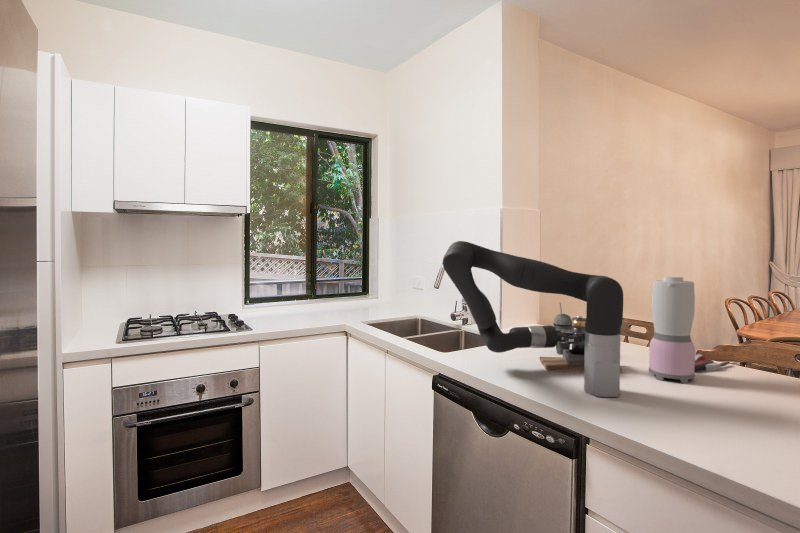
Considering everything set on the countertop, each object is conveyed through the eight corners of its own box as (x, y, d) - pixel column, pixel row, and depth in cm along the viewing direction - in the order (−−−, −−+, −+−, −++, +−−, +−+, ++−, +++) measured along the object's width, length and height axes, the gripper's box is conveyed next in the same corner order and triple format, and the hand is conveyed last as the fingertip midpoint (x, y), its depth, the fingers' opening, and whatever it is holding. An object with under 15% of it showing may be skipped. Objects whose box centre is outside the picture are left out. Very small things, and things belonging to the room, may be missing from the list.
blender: (696, 386, 124) (699, 278, 123) (648, 379, 131) (650, 277, 129) (691, 372, 138) (693, 275, 137) (648, 367, 144) (650, 274, 143)
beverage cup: (574, 356, 159) (575, 304, 158) (554, 355, 161) (554, 303, 160) (570, 351, 166) (571, 301, 166) (551, 350, 168) (551, 301, 167)
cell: (588, 360, 143) (588, 317, 142) (573, 359, 144) (574, 317, 143) (583, 356, 148) (584, 315, 147) (569, 356, 148) (570, 314, 148)
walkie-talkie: (701, 376, 135) (732, 367, 144) (701, 362, 135) (733, 354, 144) (672, 369, 143) (704, 361, 152) (673, 356, 143) (704, 349, 152)
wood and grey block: (622, 372, 138) (622, 349, 138) (546, 370, 141) (547, 347, 141) (608, 362, 150) (609, 341, 150) (539, 360, 153) (539, 339, 153)
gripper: (550, 330, 136) (599, 328, 138) (531, 322, 150) (575, 321, 152) (550, 352, 136) (598, 350, 139) (530, 342, 151) (575, 341, 153)
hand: (586, 335), depth 146 cm, fingers closed on cell, 4 cm apart
